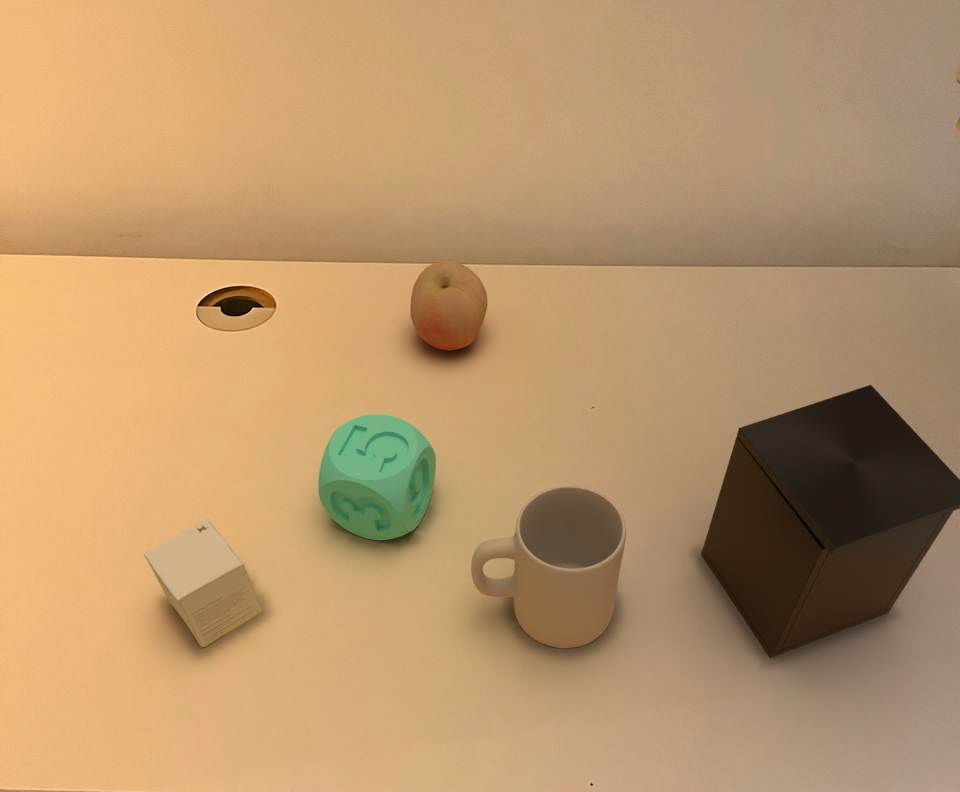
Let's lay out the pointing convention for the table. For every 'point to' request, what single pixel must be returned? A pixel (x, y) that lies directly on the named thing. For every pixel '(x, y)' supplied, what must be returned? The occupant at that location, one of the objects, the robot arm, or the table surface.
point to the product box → (204, 582)
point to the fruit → (448, 305)
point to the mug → (559, 565)
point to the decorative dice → (377, 476)
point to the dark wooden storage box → (800, 563)
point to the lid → (852, 468)
